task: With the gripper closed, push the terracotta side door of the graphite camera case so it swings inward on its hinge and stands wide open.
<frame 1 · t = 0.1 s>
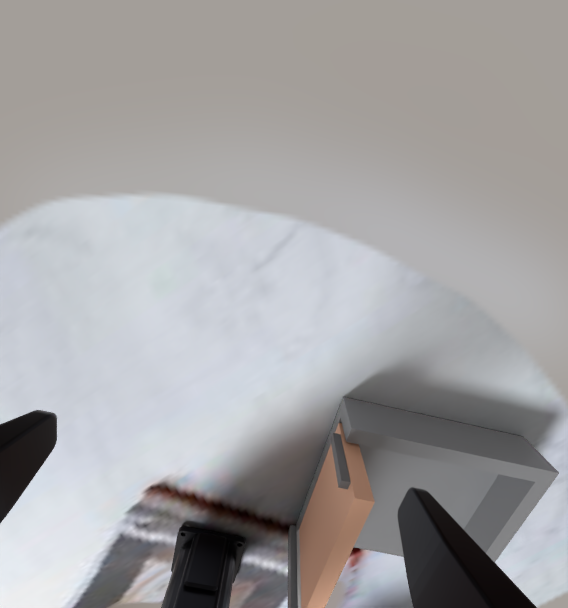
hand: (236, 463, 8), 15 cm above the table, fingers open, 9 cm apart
door: (323, 522, 22), point 4 cm above the table, hinge at 0.0°
housing: (401, 484, 27), on the table
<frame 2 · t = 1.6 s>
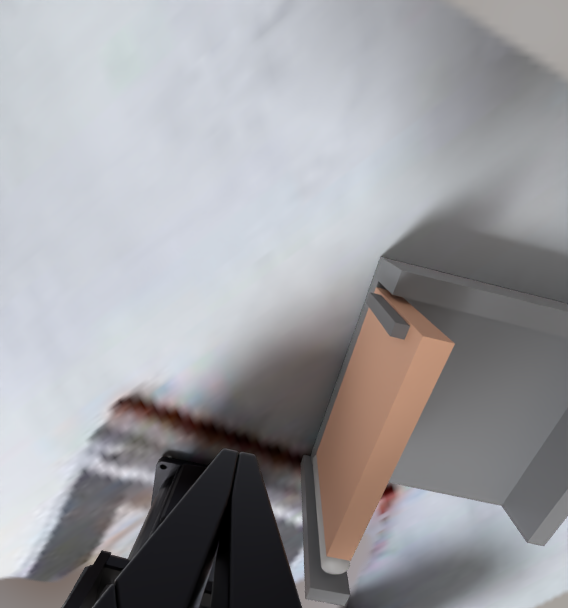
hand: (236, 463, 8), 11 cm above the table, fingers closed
door: (355, 423, 16), point 4 cm above the table, hinge at 0.0°
housing: (453, 393, 20), on the table
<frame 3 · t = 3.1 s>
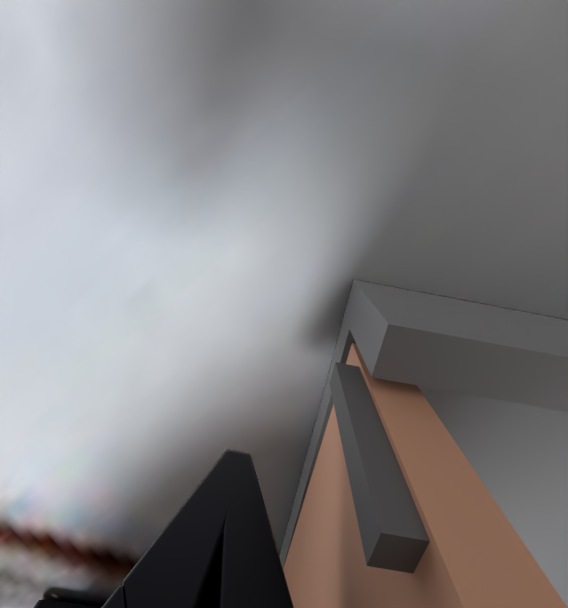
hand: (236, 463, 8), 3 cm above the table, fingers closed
housing: (497, 499, 12), on the table
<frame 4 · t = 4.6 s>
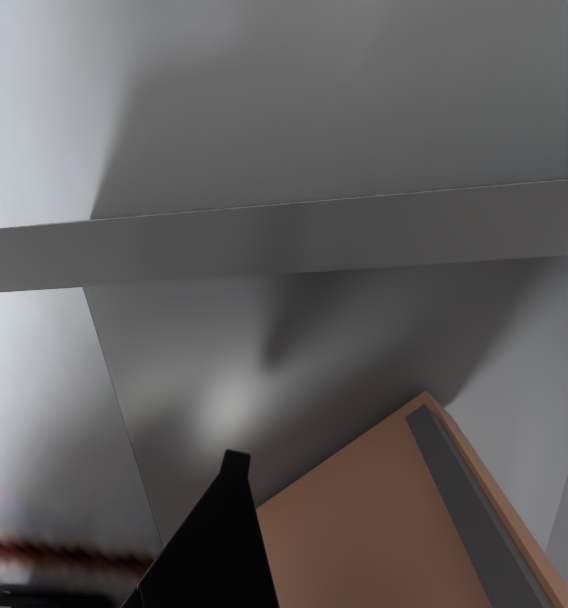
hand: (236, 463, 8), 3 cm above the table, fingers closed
housing: (354, 420, 11), on the table
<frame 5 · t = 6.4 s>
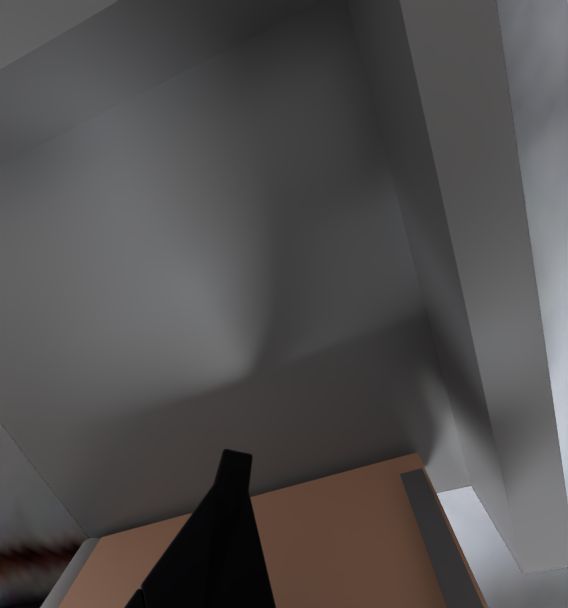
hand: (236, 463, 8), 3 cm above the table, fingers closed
housing: (205, 334, 10), on the table
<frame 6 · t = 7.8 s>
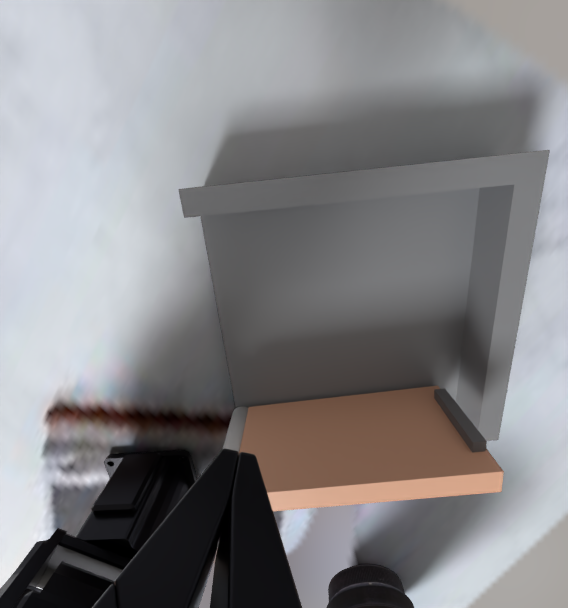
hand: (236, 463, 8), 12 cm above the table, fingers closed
camera lens: (363, 584, 28), on the table
door: (339, 438, 16), point 4 cm above the table, hinge at 86.6°
housing: (347, 307, 19), on the table
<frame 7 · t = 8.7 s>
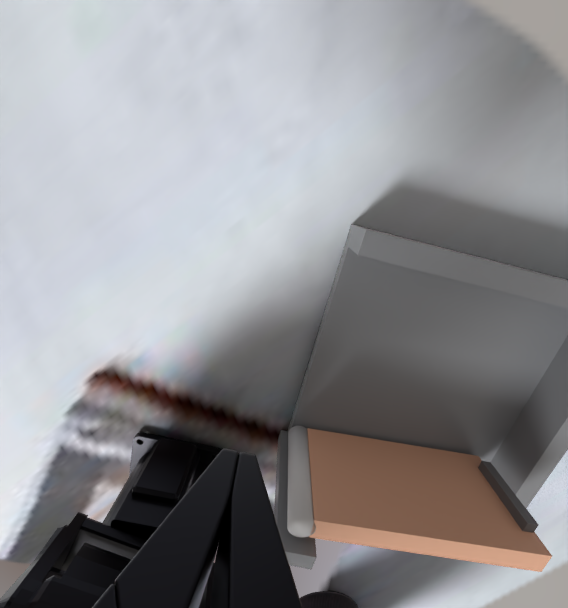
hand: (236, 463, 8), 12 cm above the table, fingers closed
door: (399, 485, 18), point 4 cm above the table, hinge at 86.6°
housing: (428, 365, 20), on the table
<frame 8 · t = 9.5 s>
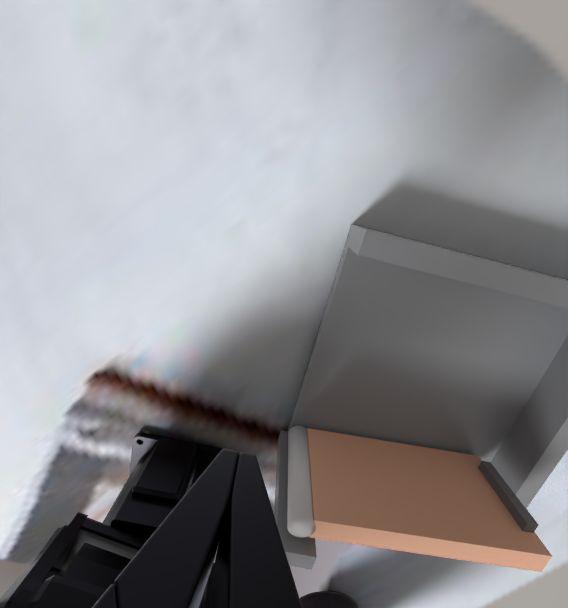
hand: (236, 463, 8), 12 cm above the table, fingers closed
door: (399, 485, 18), point 4 cm above the table, hinge at 86.6°
housing: (428, 365, 20), on the table
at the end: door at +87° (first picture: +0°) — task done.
